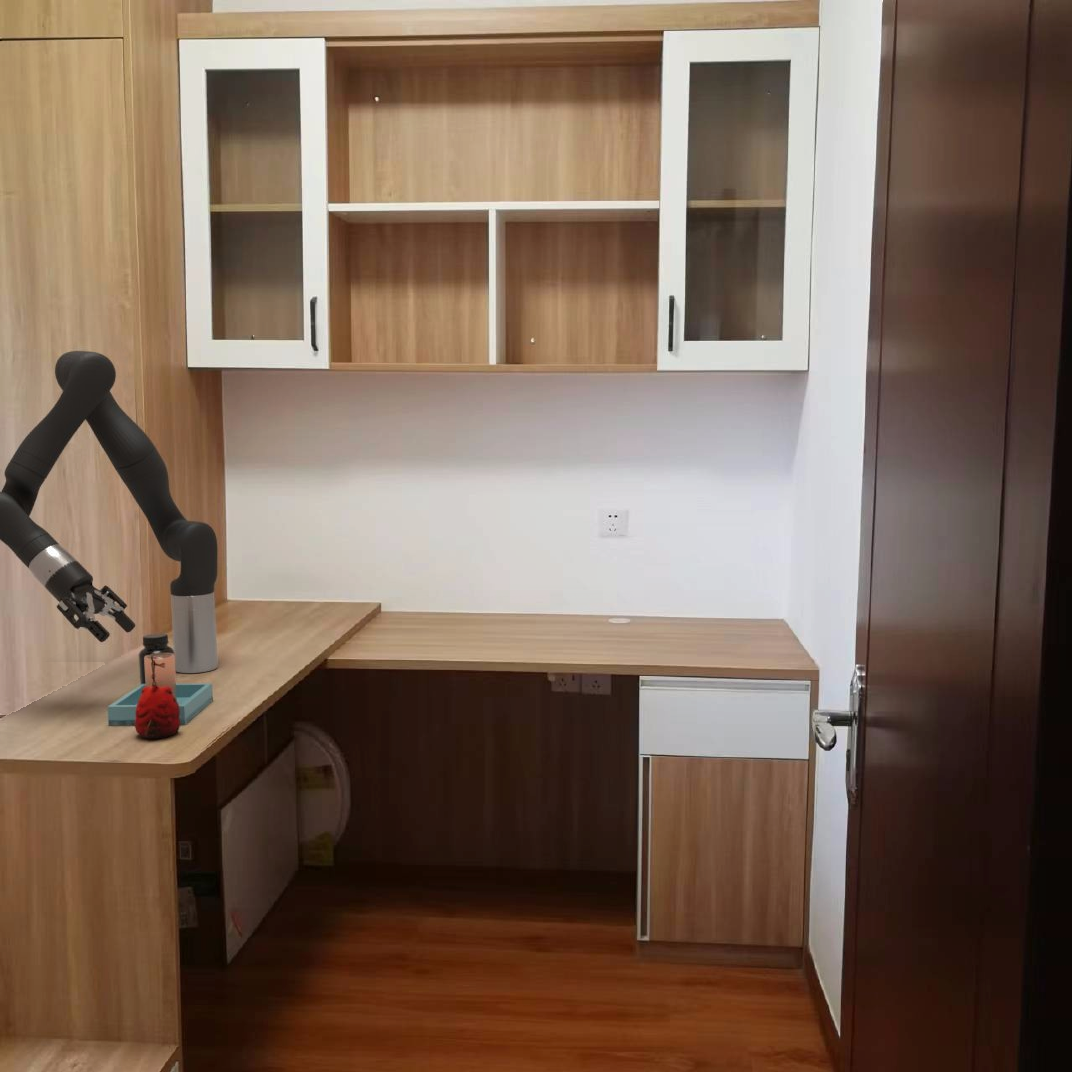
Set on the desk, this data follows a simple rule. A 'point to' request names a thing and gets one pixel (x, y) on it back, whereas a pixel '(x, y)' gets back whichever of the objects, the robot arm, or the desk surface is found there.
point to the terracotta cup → (161, 671)
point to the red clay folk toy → (157, 710)
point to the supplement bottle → (152, 650)
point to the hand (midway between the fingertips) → (119, 634)
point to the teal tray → (188, 699)
